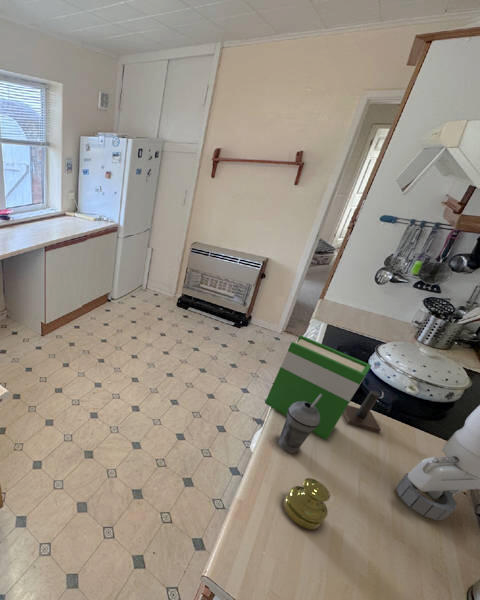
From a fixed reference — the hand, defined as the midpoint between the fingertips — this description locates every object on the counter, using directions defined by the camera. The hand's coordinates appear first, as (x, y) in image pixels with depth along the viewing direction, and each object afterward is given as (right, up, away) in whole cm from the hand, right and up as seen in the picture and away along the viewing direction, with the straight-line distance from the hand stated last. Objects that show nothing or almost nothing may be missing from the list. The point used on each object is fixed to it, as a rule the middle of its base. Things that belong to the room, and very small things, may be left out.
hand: (438, 495), depth 77 cm
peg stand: (+2, +9, +25) cm, 27 cm away
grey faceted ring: (-4, -1, 0) cm, 4 cm away
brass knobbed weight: (-35, -2, -3) cm, 35 cm away
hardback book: (-17, +10, +25) cm, 32 cm away
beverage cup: (-27, +5, +14) cm, 31 cm away
